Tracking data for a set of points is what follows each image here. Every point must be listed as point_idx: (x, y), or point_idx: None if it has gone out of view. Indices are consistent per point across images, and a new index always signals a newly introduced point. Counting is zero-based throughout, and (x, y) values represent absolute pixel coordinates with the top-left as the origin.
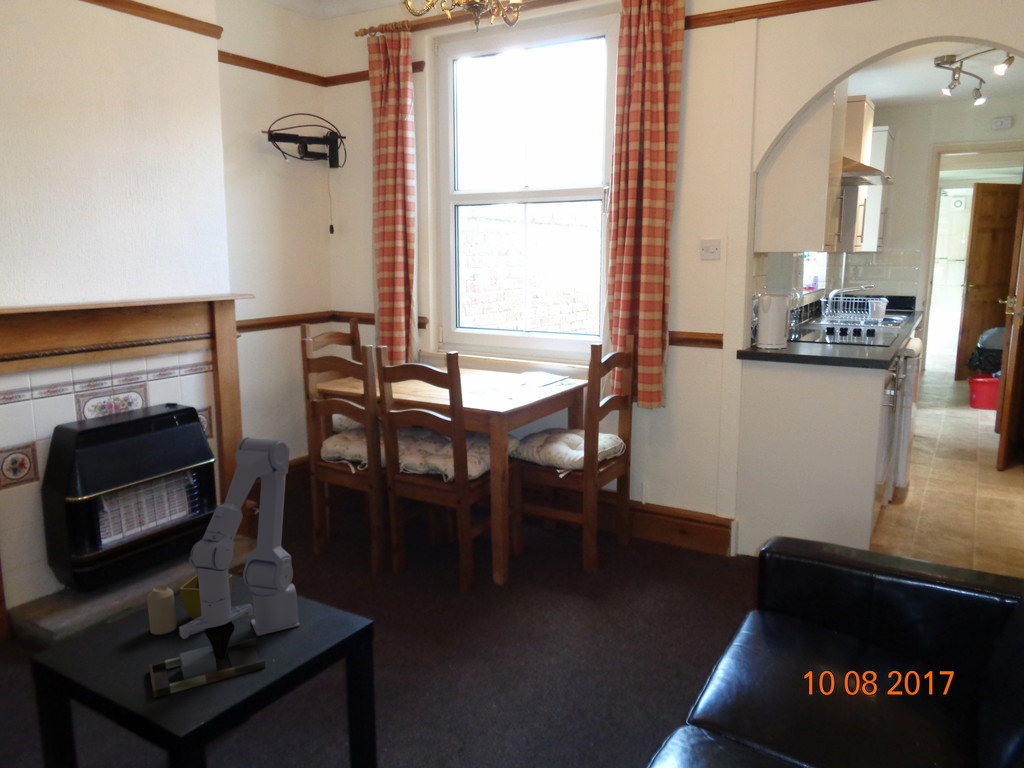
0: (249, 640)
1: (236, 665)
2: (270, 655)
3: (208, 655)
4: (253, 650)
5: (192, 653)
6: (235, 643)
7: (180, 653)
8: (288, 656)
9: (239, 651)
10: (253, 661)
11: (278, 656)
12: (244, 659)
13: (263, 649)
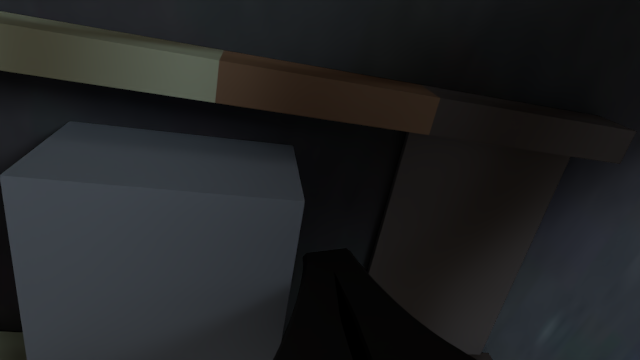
0: (590, 145)
1: None
2: (564, 286)
3: (241, 337)
4: (540, 197)
5: (124, 245)
6: (501, 123)
7: (8, 178)
8: (607, 337)
9: (477, 158)
10: (471, 306)
11: (581, 314)
12: (448, 263)
13: (584, 207)
